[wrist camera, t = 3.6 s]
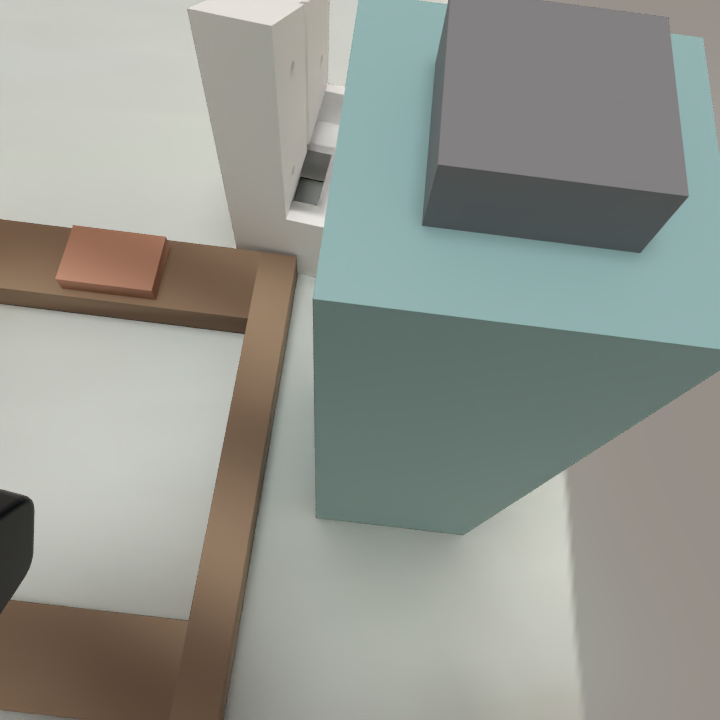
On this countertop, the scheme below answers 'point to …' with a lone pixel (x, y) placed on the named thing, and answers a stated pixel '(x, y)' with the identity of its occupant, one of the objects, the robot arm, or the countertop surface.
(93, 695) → the socket board
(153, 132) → the countertop surface
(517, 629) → the countertop surface
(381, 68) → the teal tall rectangular block
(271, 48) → the white wedge bracket
